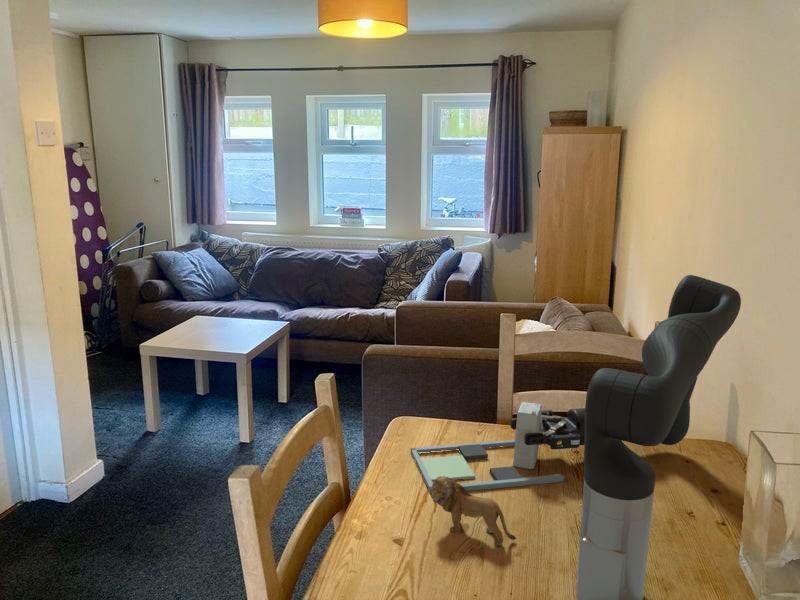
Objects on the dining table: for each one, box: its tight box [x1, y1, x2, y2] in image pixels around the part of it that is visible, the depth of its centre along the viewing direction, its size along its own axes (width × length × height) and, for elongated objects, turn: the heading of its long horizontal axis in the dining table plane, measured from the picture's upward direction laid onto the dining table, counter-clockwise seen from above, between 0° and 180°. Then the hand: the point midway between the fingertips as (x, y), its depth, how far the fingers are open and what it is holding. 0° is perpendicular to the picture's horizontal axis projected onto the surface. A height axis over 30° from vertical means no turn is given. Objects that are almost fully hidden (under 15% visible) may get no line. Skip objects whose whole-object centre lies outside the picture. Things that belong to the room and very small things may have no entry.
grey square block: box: [489, 465, 523, 481], centre depth 124 cm, size 5×5×1 cm
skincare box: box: [512, 401, 543, 470], centre depth 130 cm, size 6×4×12 cm
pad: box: [421, 454, 476, 482], centre depth 128 cm, size 9×9×1 cm
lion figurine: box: [430, 476, 517, 547], centre depth 105 cm, size 15×5×9 cm, turn 69°
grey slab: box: [458, 444, 489, 461], centre depth 134 cm, size 5×5×1 cm
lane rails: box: [410, 439, 564, 495], centre depth 129 cm, size 27×18×1 cm
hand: (518, 431), depth 129 cm, fingers closed on skincare box, 7 cm apart
